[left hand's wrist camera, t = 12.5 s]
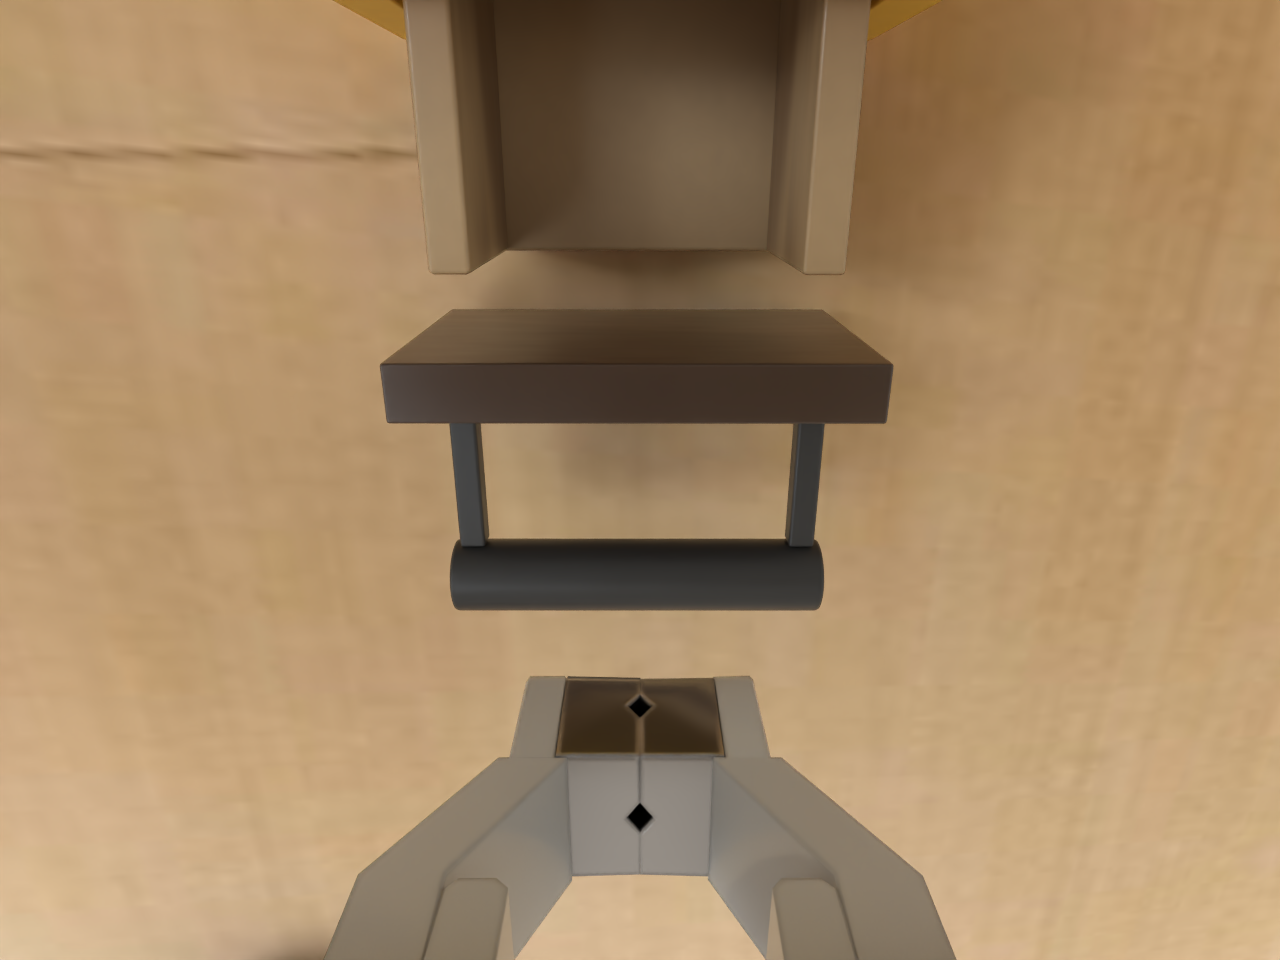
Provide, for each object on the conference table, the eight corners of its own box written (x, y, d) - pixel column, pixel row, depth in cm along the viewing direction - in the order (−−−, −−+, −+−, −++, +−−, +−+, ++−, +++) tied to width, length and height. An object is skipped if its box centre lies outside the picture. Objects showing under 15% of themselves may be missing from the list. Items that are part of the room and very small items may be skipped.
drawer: (803, 537, 23) (858, 660, 17) (471, 537, 23) (415, 660, 17) (884, -393, 16) (1029, -725, 10) (390, -395, 16) (243, -727, 10)
